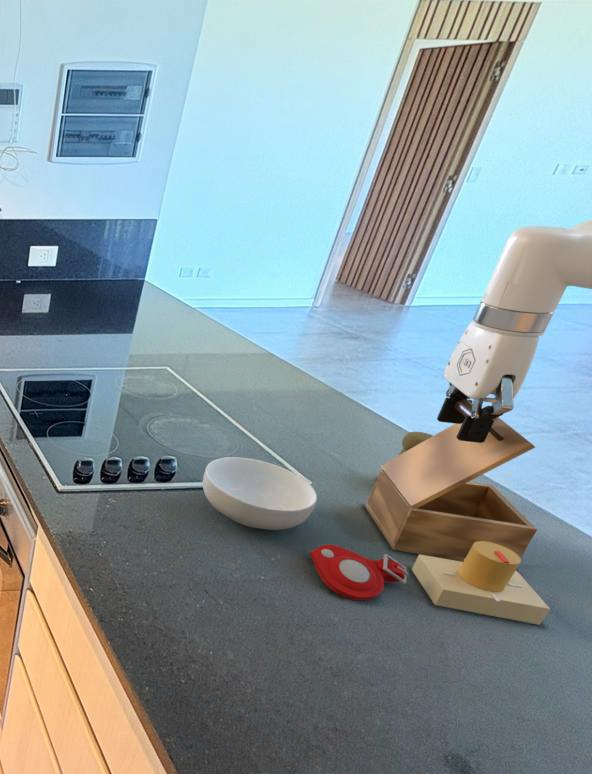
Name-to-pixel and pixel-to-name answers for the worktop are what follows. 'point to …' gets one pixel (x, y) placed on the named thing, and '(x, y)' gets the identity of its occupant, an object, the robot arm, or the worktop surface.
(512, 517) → the chest
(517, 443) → the hinged box cover
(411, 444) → the cork
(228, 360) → the worktop surface
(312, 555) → the tracker holder
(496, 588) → the lock knob
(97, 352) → the worktop surface
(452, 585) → the lock plate
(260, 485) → the cereal bowl
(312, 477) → the worktop surface
